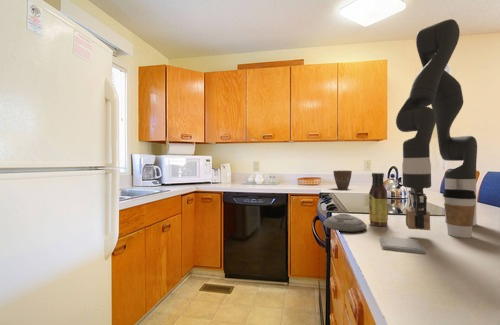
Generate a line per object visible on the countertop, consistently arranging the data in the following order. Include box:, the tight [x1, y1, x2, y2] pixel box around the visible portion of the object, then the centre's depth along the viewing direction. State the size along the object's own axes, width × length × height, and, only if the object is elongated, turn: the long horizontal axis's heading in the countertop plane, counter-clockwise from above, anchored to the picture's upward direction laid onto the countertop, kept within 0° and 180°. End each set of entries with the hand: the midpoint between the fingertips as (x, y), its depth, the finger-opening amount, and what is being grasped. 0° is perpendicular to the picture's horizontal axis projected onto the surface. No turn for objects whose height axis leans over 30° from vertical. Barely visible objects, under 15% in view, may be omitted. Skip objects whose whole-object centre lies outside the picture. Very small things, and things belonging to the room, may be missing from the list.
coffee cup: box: [442, 188, 477, 239], centre depth 81 cm, size 8×8×15 cm
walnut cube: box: [405, 207, 431, 231], centre depth 79 cm, size 6×6×6 cm
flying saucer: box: [322, 213, 368, 233], centre depth 92 cm, size 15×15×6 cm
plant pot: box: [332, 170, 353, 191], centre depth 214 cm, size 15×15×16 cm
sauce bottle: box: [368, 172, 389, 227], centre depth 96 cm, size 7×6×20 cm
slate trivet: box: [379, 235, 426, 255], centre depth 72 cm, size 10×10×1 cm
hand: (417, 225), depth 79 cm, fingers closed on walnut cube, 5 cm apart
